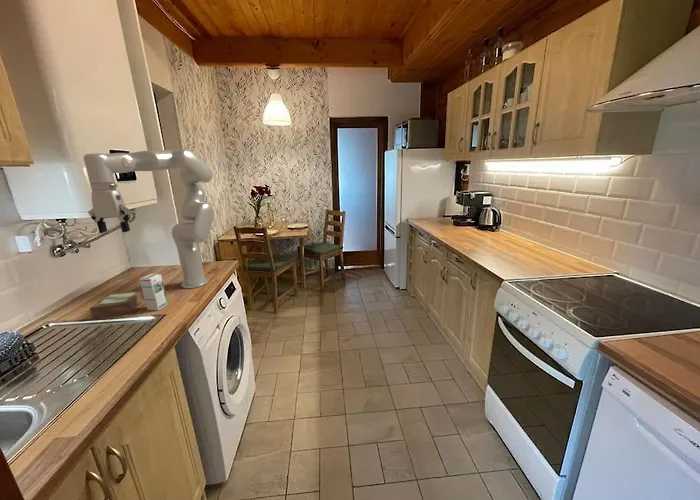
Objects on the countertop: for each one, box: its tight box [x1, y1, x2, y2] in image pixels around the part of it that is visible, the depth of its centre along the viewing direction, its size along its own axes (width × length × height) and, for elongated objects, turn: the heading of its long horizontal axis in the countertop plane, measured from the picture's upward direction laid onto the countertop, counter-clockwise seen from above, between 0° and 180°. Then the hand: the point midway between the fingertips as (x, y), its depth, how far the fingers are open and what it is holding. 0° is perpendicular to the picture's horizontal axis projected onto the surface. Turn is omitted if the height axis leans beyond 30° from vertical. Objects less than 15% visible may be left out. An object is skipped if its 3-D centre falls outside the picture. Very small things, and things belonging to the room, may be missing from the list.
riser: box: [89, 290, 145, 320], centre depth 137 cm, size 14×14×5 cm
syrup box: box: [139, 273, 169, 311], centre depth 136 cm, size 6×6×14 cm
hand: (115, 231), depth 125 cm, fingers open, 9 cm apart
